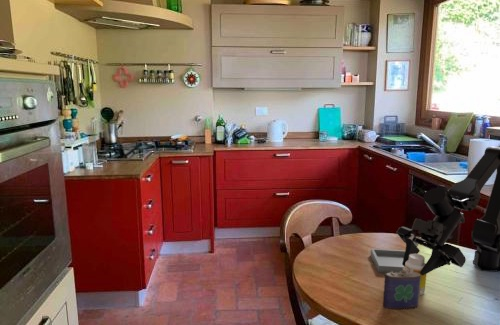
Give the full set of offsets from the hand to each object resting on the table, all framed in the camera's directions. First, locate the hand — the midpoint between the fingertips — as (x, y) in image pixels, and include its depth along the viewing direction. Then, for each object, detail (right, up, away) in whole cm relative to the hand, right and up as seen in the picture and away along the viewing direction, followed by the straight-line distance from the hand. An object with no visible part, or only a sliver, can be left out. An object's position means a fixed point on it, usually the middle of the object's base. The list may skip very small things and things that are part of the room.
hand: (412, 269), depth 105 cm
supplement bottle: (+1, -7, +2) cm, 7 cm away
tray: (+2, -4, +18) cm, 18 cm away
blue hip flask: (-6, -8, -6) cm, 12 cm away
